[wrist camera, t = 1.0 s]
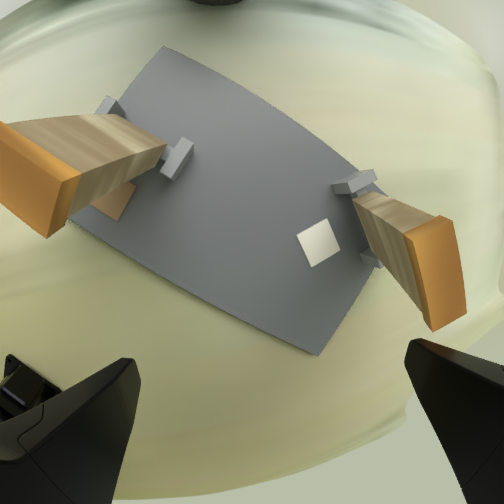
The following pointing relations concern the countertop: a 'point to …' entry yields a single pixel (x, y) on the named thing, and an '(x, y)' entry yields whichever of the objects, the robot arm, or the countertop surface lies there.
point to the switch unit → (238, 204)
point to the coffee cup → (216, 2)
